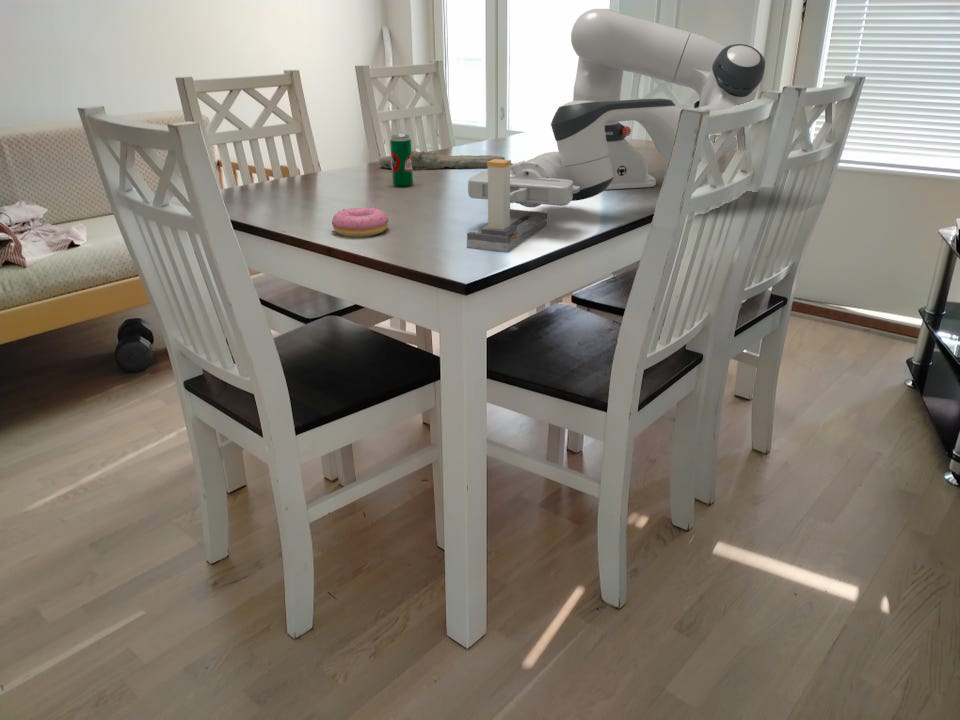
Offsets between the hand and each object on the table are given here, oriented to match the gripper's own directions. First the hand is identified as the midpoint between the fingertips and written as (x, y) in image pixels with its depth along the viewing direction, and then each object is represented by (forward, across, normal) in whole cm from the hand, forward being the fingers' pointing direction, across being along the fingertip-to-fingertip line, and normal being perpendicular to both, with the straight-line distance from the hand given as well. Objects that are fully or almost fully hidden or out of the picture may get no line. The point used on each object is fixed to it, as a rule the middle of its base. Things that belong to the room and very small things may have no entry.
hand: (504, 198), depth 133 cm
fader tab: (+2, 0, -6) cm, 6 cm away
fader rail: (-3, 0, -8) cm, 8 cm away
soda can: (-36, +43, -8) cm, 56 cm away
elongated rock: (-62, +45, -8) cm, 77 cm away
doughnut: (+5, +28, -8) cm, 30 cm away
